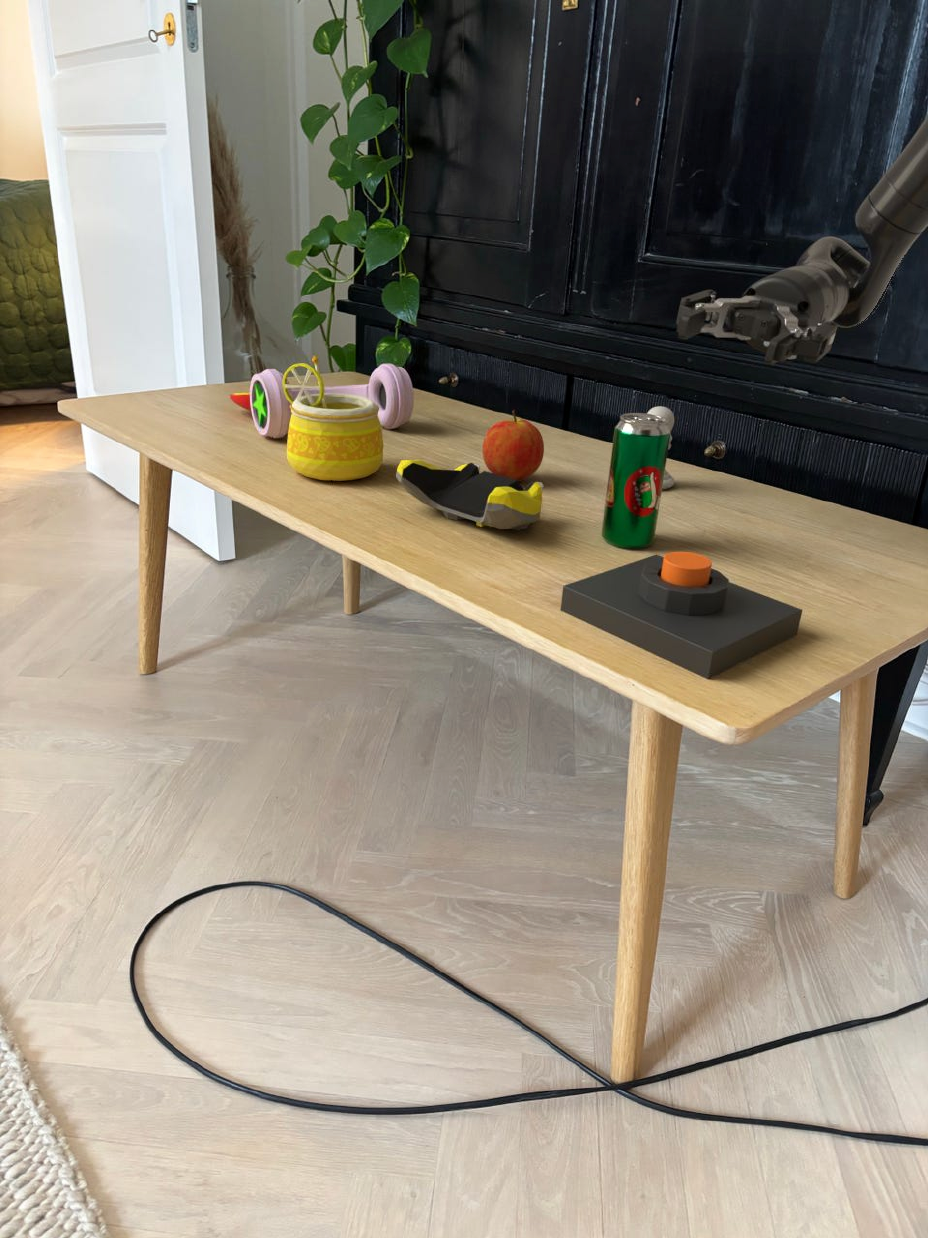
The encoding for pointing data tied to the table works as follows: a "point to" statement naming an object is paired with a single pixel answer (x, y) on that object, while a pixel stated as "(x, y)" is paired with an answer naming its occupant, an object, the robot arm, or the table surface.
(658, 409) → the chess piece
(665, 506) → the table surface
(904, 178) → the robot arm
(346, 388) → the headphones
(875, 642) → the table surface
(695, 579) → the orange push button
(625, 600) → the push button base
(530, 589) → the table surface
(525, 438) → the fruit
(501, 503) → the shoe
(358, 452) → the yellow drink pot
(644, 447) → the soda can
